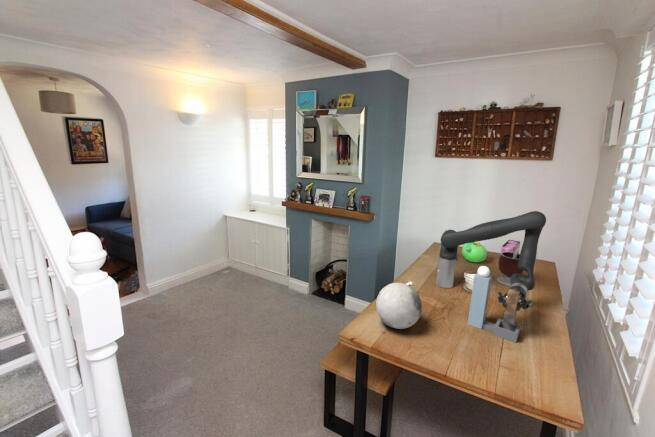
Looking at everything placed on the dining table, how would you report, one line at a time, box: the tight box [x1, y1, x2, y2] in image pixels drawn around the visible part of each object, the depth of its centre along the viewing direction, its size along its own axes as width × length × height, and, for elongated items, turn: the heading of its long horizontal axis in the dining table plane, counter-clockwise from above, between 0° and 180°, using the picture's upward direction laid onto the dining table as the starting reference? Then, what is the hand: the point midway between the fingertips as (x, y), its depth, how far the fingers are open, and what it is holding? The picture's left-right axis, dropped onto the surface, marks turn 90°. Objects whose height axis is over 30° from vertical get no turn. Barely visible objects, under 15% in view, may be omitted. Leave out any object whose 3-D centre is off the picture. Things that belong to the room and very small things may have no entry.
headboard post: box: [467, 265, 521, 343], centre depth 140 cm, size 20×9×28 cm, turn 52°
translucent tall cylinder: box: [502, 288, 520, 325], centre depth 137 cm, size 4×4×14 cm
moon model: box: [375, 282, 423, 330], centre depth 143 cm, size 20×20×20 cm
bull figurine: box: [406, 281, 415, 288], centre depth 170 cm, size 4×13×8 cm, turn 137°
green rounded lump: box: [461, 241, 488, 263], centre depth 227 cm, size 18×17×15 cm
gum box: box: [499, 239, 521, 256], centre depth 228 cm, size 24×8×14 cm, turn 139°
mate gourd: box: [497, 247, 525, 287], centre depth 194 cm, size 16×14×20 cm
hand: (510, 307), depth 135 cm, fingers closed on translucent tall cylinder, 4 cm apart
